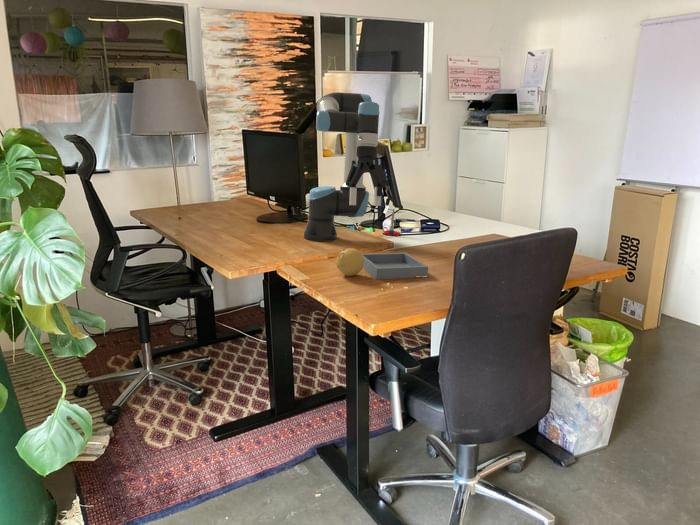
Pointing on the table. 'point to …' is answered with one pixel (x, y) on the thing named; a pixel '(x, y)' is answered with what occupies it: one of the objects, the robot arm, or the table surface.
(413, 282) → the table surface
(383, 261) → the tray
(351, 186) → the robot arm
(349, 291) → the table surface
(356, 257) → the stress ball
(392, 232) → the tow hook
